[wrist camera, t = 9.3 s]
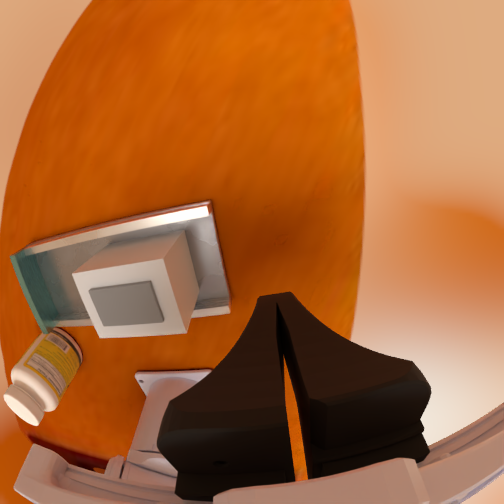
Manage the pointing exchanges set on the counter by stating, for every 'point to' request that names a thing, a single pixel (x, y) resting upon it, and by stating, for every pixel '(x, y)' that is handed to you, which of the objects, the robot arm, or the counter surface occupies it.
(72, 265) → the rail plate
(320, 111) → the counter surface
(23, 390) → the supplement bottle
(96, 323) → the block
